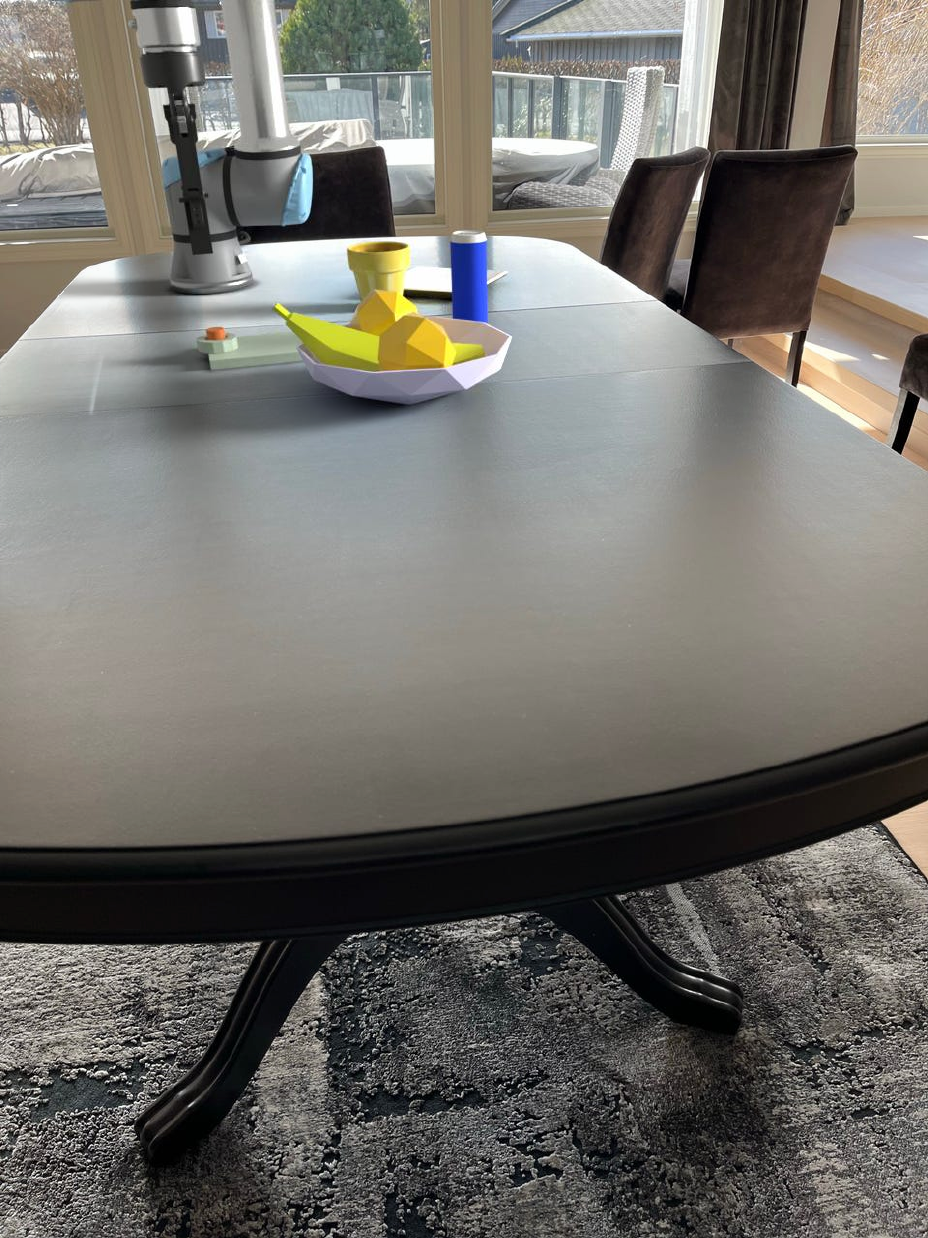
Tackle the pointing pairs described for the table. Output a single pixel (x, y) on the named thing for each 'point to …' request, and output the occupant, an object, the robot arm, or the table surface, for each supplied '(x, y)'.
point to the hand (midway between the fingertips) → (202, 252)
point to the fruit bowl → (397, 350)
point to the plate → (437, 281)
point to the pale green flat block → (250, 349)
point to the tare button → (215, 333)
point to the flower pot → (379, 266)
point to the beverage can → (469, 275)
